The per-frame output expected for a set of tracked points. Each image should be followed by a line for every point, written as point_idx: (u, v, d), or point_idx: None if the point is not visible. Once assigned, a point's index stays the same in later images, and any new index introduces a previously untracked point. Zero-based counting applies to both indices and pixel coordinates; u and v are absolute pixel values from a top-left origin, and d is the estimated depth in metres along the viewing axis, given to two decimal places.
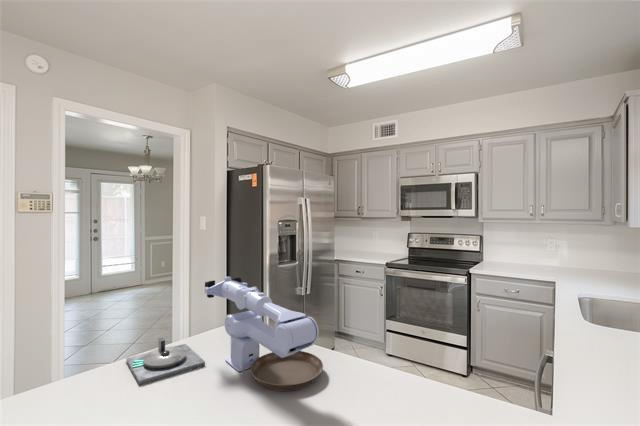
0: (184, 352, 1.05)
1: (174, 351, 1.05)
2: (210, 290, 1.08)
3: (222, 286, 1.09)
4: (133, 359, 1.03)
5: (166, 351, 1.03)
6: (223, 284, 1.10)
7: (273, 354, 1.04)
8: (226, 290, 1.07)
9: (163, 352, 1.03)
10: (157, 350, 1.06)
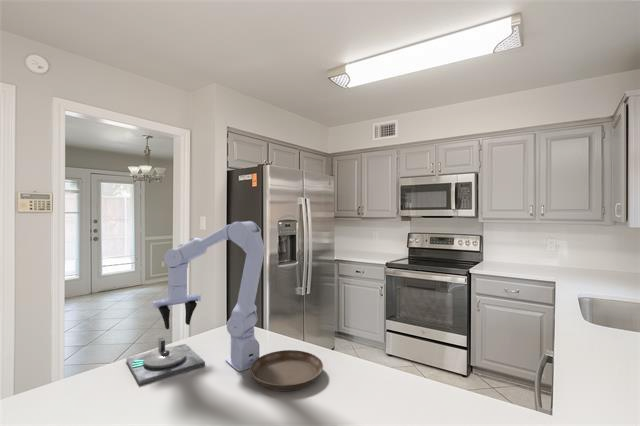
0: (184, 352, 1.05)
1: (174, 351, 1.05)
2: None
3: None
4: (133, 359, 1.03)
5: (166, 351, 1.03)
6: None
7: (273, 354, 1.04)
8: (168, 285, 1.08)
9: (163, 352, 1.03)
10: (157, 350, 1.06)
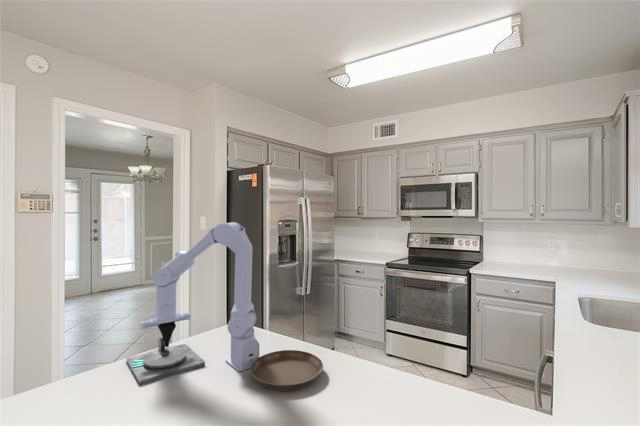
0: (184, 352, 1.05)
1: (174, 351, 1.05)
2: None
3: None
4: (133, 359, 1.03)
5: (166, 351, 1.03)
6: None
7: (273, 354, 1.04)
8: None
9: (163, 352, 1.03)
10: (157, 350, 1.06)
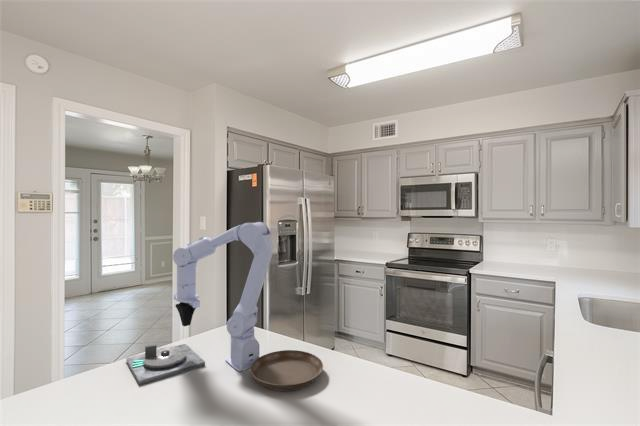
0: (171, 347, 1.09)
1: (162, 351, 1.05)
2: None
3: None
4: (133, 359, 1.03)
5: (166, 351, 1.03)
6: None
7: (273, 354, 1.04)
8: None
9: (165, 352, 1.03)
10: (146, 359, 1.00)
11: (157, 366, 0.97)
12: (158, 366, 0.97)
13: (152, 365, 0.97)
